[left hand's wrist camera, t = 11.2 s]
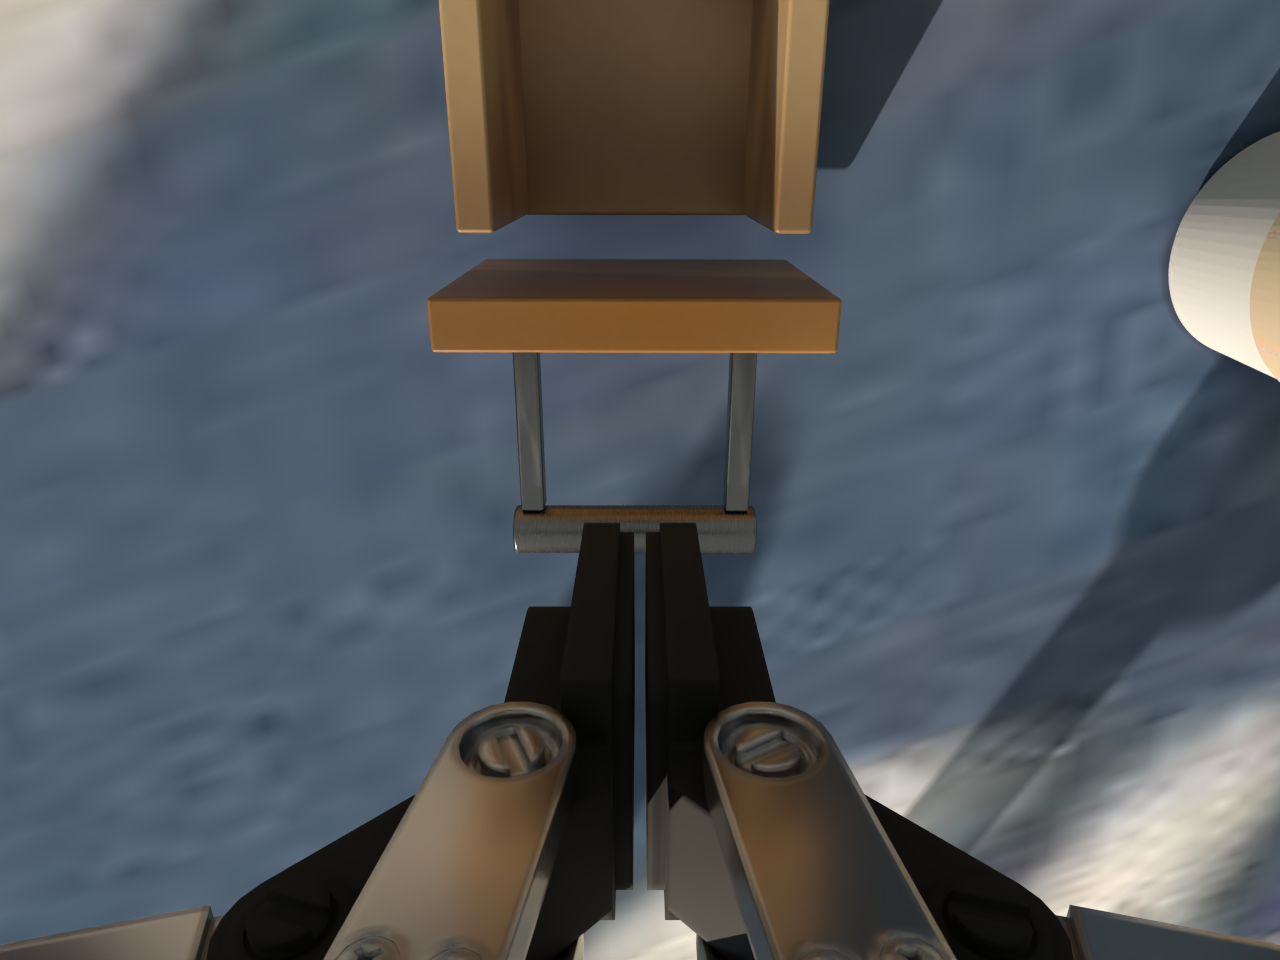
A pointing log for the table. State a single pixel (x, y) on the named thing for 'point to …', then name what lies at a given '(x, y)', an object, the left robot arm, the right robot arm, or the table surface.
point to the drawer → (634, 207)
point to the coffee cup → (1233, 260)
